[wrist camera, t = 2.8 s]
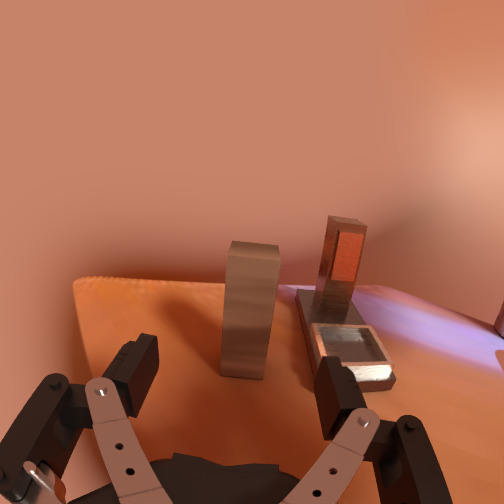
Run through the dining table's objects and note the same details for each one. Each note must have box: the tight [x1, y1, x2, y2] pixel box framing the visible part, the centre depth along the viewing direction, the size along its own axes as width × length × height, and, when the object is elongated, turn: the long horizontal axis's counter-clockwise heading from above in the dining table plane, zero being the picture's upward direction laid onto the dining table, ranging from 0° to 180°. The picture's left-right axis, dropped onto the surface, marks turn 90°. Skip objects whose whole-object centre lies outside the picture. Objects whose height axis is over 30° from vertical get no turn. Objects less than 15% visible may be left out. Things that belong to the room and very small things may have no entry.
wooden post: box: [220, 241, 281, 379], centre depth 25 cm, size 4×4×12 cm
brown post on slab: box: [296, 216, 396, 392], centre depth 30 cm, size 20×8×14 cm, turn 178°
